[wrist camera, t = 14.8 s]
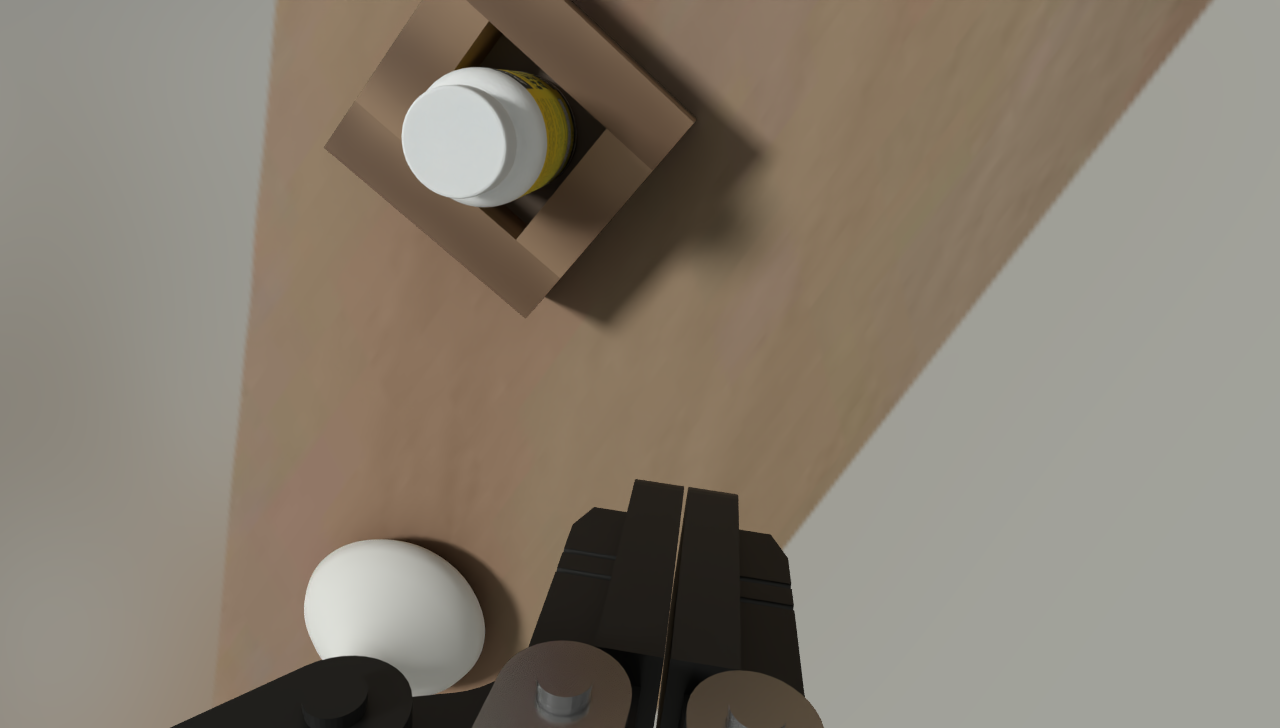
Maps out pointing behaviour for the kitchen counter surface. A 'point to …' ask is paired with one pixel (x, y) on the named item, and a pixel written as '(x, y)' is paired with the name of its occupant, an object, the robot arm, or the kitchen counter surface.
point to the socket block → (554, 214)
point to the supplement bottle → (488, 135)
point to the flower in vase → (396, 612)
